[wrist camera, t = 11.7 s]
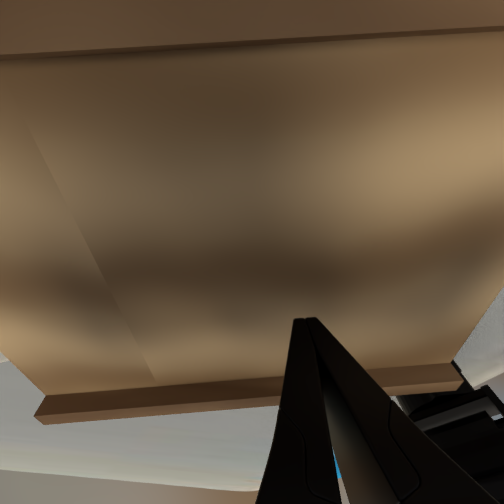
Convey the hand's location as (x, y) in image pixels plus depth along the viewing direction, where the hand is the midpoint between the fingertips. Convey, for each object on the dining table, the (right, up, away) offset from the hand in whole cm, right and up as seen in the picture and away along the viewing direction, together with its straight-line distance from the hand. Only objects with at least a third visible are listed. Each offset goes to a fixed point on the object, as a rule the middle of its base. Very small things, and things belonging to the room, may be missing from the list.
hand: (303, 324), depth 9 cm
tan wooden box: (-3, +6, +7) cm, 10 cm away
